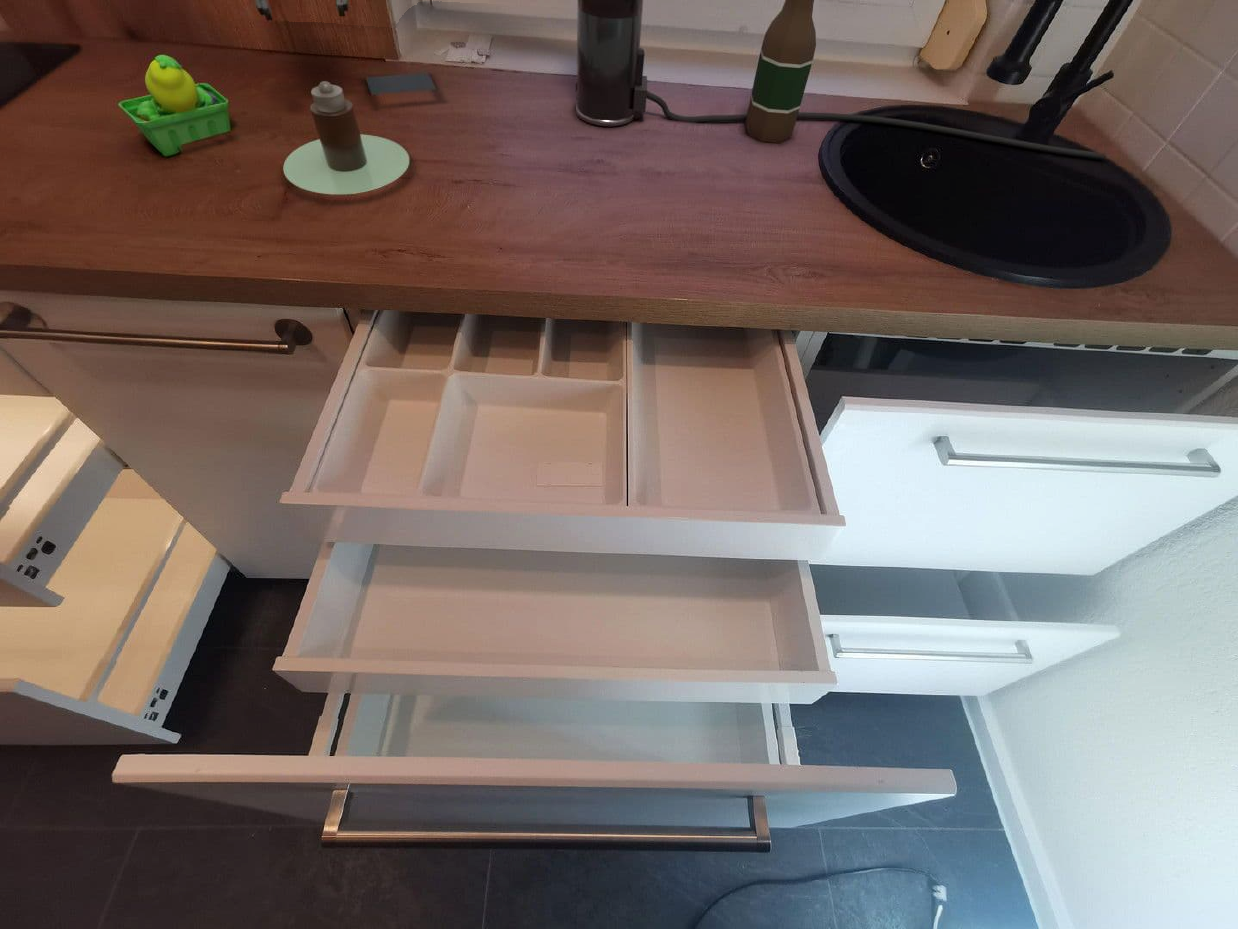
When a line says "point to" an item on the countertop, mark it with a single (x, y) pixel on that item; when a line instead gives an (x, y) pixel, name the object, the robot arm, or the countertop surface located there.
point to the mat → (400, 83)
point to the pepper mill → (337, 128)
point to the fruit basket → (176, 108)
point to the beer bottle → (782, 73)
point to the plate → (380, 170)
